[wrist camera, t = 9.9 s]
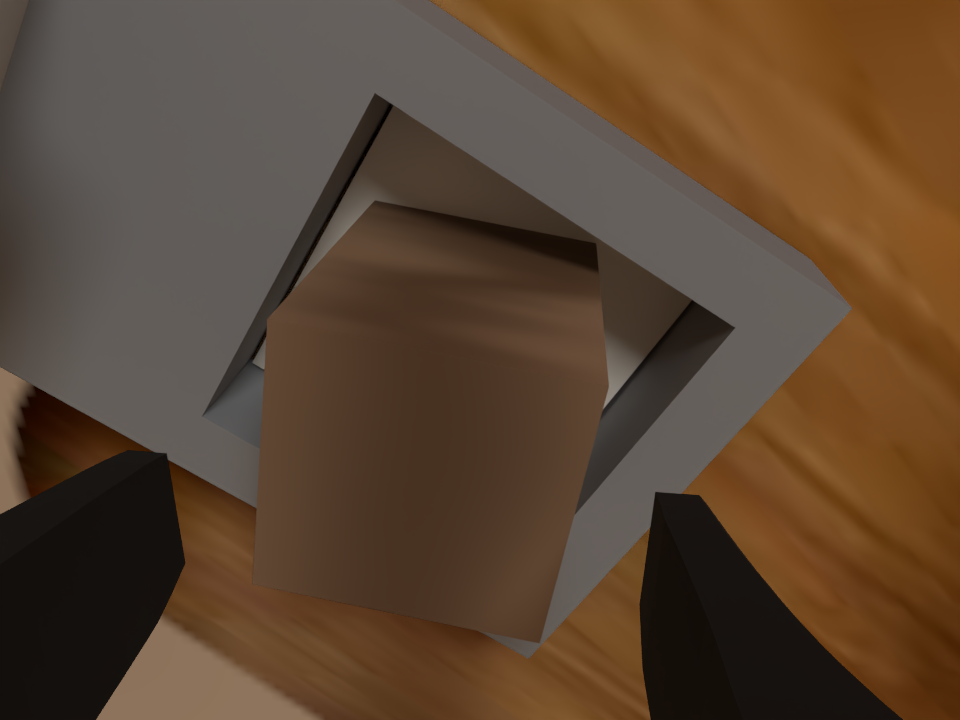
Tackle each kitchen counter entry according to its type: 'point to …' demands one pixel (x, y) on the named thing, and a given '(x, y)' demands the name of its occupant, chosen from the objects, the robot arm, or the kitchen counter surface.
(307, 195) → the socket block
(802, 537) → the kitchen counter surface
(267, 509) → the walnut peg
